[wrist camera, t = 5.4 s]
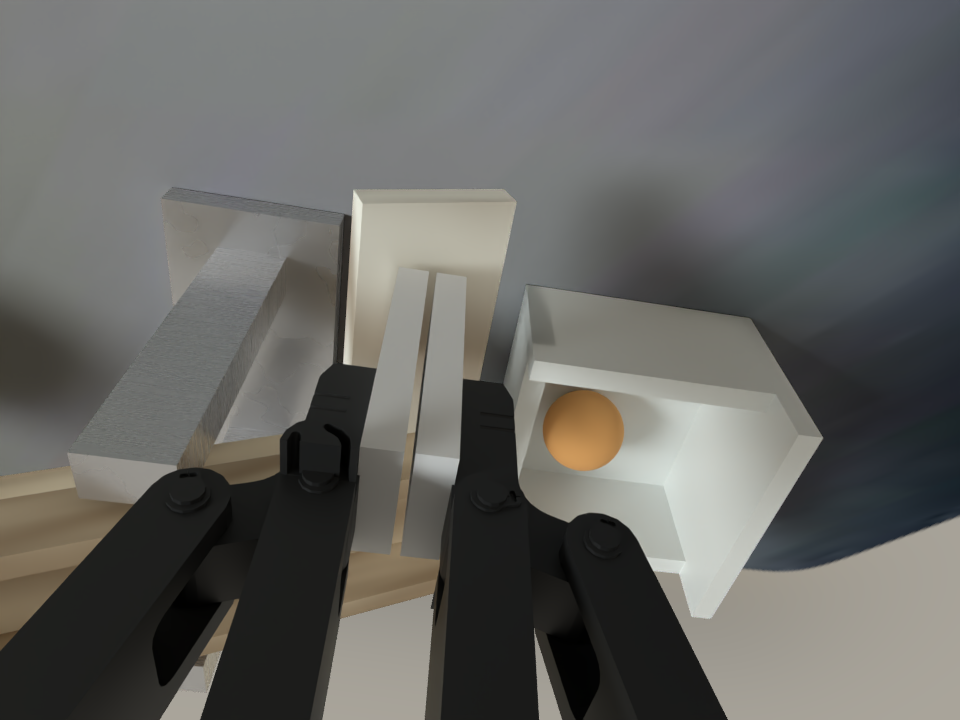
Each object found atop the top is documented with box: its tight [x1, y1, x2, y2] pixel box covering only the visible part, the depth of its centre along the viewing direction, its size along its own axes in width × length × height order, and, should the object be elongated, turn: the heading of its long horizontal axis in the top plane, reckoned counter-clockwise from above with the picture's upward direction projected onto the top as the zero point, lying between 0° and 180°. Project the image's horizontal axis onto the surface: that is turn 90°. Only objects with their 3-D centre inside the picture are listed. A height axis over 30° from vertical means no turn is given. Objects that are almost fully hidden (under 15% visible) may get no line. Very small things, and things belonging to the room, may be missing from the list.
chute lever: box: [0, 189, 517, 656], centre depth 17 cm, size 14×18×4 cm
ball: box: [543, 390, 624, 471], centre depth 27 cm, size 3×3×3 cm
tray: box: [503, 284, 823, 619], centre depth 26 cm, size 10×9×7 cm
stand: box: [67, 187, 344, 693], centre depth 23 cm, size 13×6×12 cm, turn 170°
